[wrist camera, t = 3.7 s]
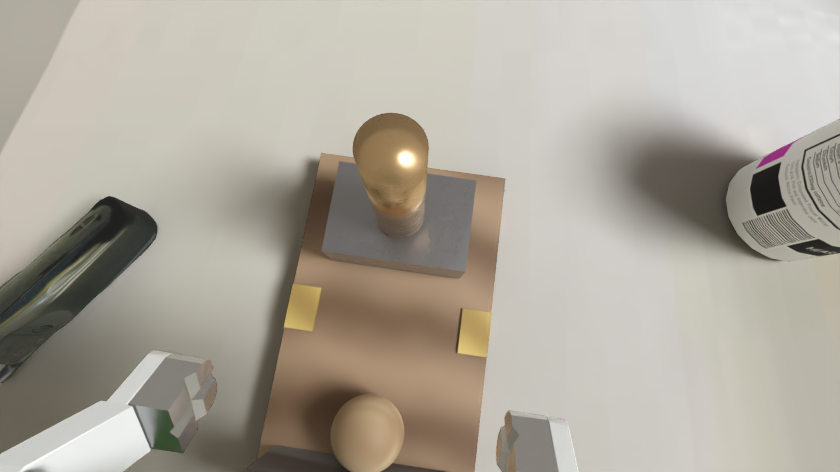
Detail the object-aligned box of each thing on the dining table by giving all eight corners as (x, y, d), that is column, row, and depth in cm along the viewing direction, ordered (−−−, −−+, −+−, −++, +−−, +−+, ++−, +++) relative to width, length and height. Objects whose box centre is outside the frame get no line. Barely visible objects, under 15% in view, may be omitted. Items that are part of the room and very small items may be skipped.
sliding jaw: (459, 278, 29) (496, 236, 16) (333, 260, 29) (262, 203, 16) (469, 197, 30) (511, 94, 17) (348, 180, 30) (294, 66, 17)
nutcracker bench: (463, 524, 28) (479, 588, 21) (259, 491, 28) (208, 544, 21) (500, 187, 33) (521, 150, 26) (326, 163, 33) (303, 120, 26)
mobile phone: (99, 185, 28) (-97, 366, 25) (129, 213, 27) (-66, 399, 25) (144, 208, 33) (-14, 361, 30) (171, 231, 32) (13, 389, 29)
